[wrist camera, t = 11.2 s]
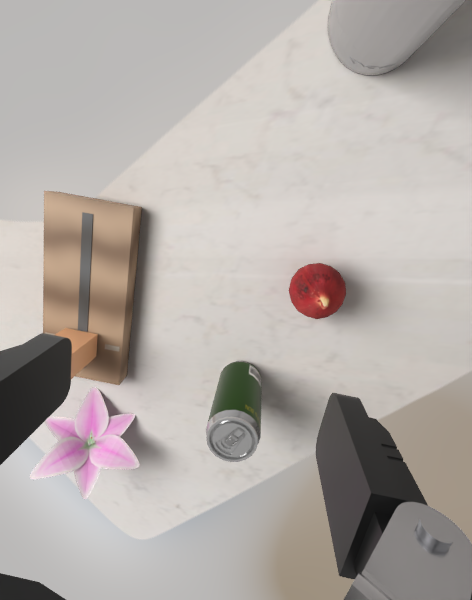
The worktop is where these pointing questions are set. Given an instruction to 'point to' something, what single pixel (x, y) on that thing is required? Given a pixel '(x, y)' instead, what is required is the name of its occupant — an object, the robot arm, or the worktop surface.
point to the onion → (317, 290)
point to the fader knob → (80, 348)
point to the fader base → (91, 276)
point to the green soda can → (236, 413)
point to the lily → (87, 444)
